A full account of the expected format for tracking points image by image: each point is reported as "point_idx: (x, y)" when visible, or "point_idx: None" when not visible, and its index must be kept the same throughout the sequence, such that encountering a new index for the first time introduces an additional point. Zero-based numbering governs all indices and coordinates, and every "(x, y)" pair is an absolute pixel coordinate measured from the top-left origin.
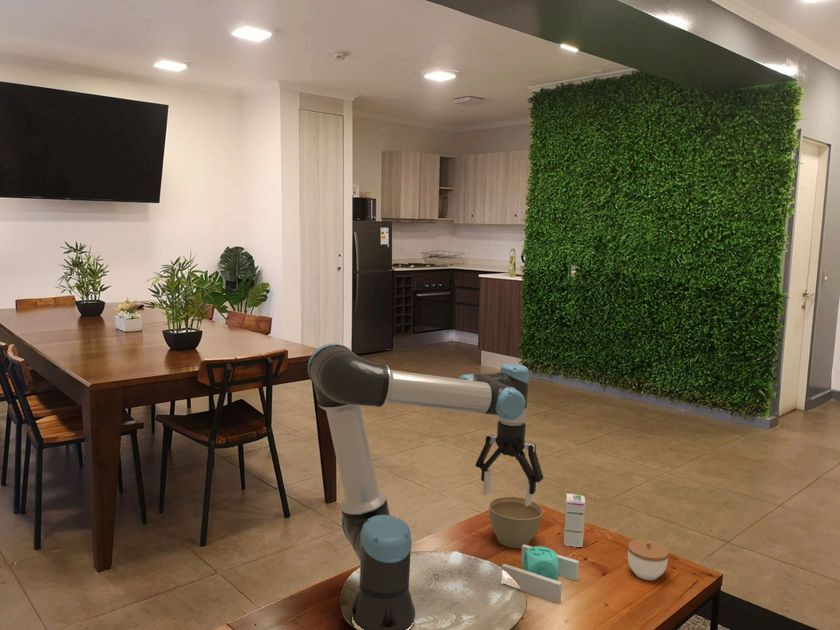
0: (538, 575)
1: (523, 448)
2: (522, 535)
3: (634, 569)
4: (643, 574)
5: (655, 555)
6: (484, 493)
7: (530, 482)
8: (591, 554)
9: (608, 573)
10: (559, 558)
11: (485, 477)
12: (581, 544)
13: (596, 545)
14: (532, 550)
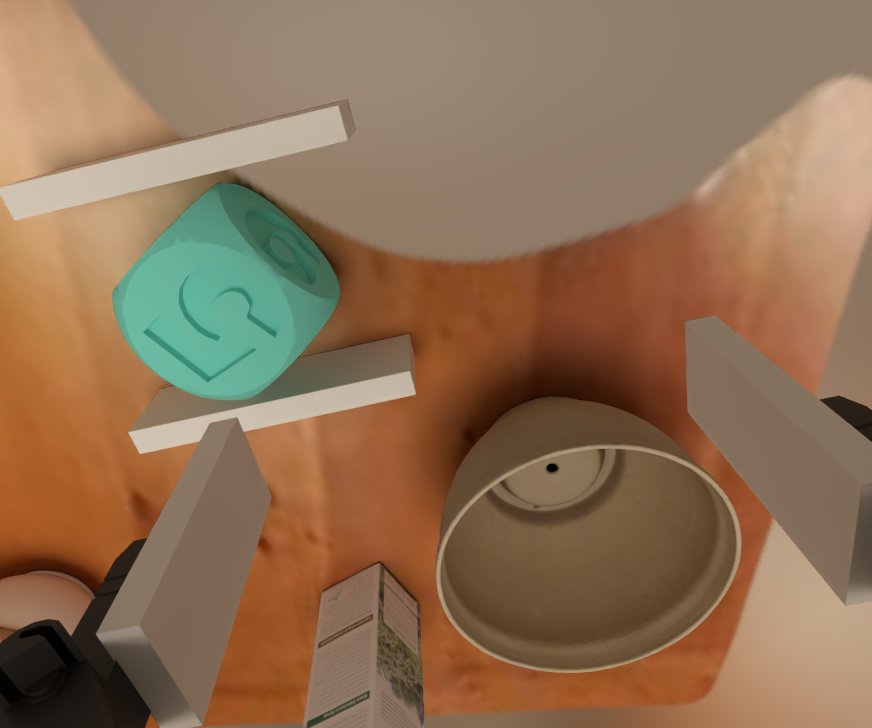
0: (137, 183)
1: None
2: (470, 450)
3: (37, 581)
4: (3, 579)
5: None
6: (706, 324)
7: (25, 643)
8: (270, 581)
9: (132, 520)
10: (214, 411)
11: (822, 425)
12: (322, 601)
13: (303, 637)
14: (278, 322)
